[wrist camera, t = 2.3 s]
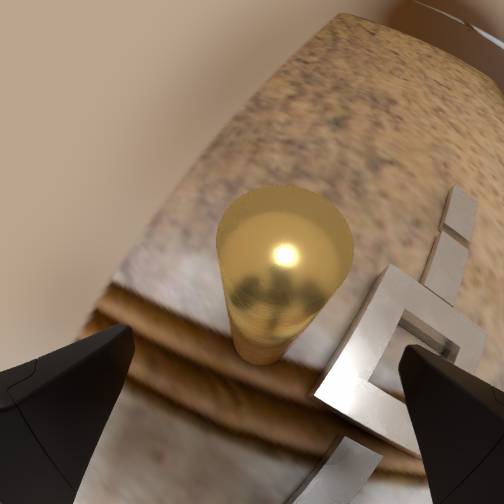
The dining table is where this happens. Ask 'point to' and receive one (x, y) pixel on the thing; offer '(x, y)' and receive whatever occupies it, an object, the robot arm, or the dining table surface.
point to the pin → (279, 266)
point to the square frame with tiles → (373, 345)
